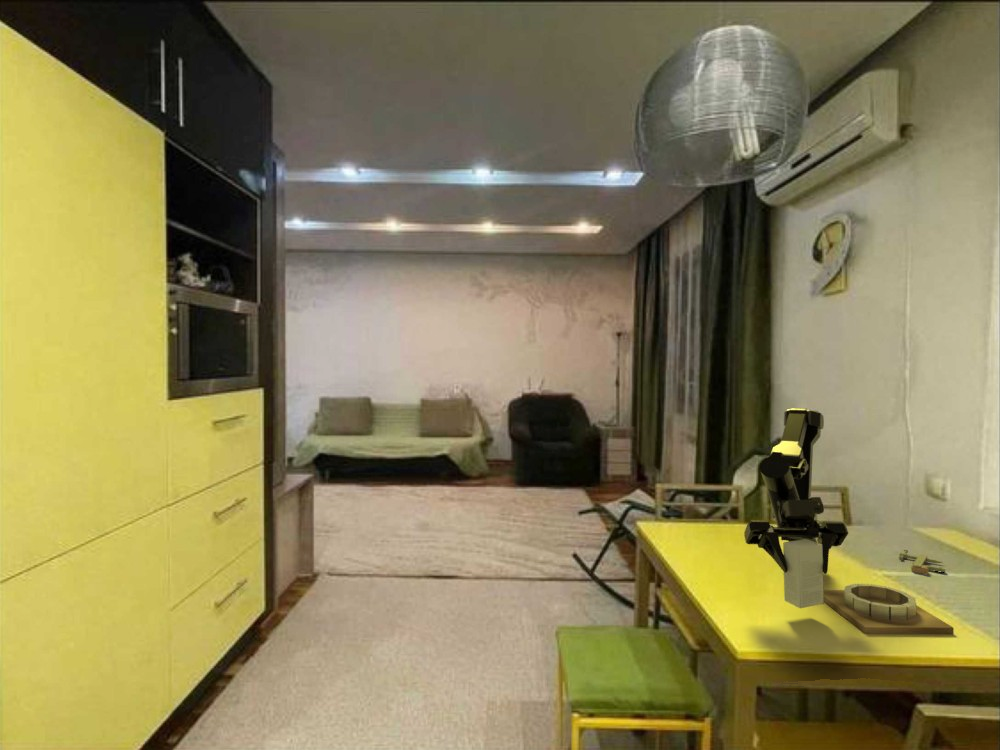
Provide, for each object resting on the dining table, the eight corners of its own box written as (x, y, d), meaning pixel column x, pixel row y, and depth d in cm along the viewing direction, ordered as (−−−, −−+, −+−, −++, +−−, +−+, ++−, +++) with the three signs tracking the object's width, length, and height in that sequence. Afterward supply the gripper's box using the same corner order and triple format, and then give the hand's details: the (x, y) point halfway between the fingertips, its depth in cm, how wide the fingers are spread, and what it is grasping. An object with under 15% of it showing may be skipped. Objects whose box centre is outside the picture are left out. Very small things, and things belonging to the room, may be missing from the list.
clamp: (942, 570, 134) (891, 561, 141) (942, 580, 134) (891, 570, 141) (950, 555, 145) (902, 546, 152) (950, 563, 145) (902, 555, 152)
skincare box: (806, 596, 118) (805, 538, 117) (824, 604, 113) (823, 544, 113) (782, 600, 116) (782, 541, 115) (799, 609, 112) (799, 548, 111)
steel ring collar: (832, 595, 122) (832, 583, 122) (890, 595, 122) (890, 583, 122) (866, 620, 110) (866, 607, 110) (930, 620, 110) (930, 607, 110)
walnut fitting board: (816, 595, 125) (815, 590, 125) (891, 595, 125) (891, 590, 124) (865, 633, 107) (865, 627, 107) (953, 633, 107) (953, 627, 106)
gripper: (747, 481, 119) (764, 551, 109) (843, 482, 117) (871, 554, 106) (737, 509, 127) (752, 577, 117) (827, 511, 125) (851, 580, 114)
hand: (805, 572), depth 113 cm, fingers closed on skincare box, 7 cm apart
